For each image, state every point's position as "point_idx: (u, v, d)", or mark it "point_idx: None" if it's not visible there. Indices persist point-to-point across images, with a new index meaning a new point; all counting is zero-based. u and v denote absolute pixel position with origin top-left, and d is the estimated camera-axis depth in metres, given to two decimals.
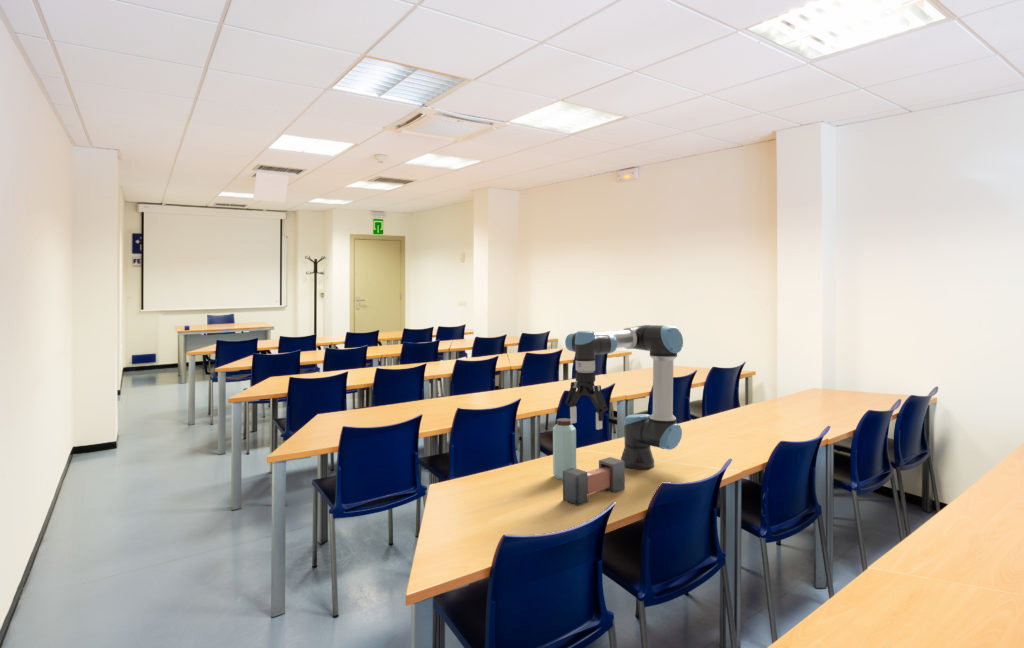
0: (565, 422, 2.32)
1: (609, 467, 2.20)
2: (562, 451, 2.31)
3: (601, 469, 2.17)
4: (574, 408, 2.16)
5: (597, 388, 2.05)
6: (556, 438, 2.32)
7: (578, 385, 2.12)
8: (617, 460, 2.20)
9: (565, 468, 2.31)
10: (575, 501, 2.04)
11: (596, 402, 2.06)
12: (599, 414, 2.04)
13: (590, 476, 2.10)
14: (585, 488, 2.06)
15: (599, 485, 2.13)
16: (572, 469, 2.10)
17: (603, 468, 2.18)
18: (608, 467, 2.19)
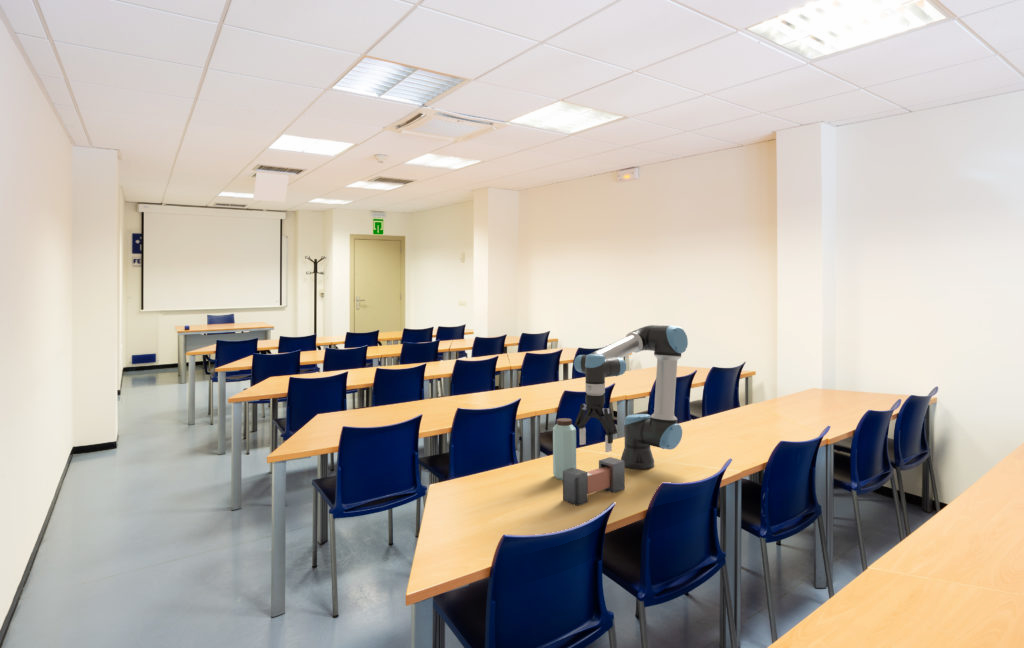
0: (565, 422, 2.32)
1: (609, 467, 2.20)
2: (562, 451, 2.31)
3: (601, 469, 2.17)
4: (583, 430, 2.19)
5: (607, 411, 2.08)
6: (556, 438, 2.32)
7: (588, 407, 2.15)
8: (617, 460, 2.20)
9: (565, 468, 2.31)
10: (575, 501, 2.04)
11: (606, 425, 2.08)
12: (609, 437, 2.07)
13: (590, 476, 2.10)
14: (585, 488, 2.06)
15: (599, 485, 2.13)
16: (572, 469, 2.10)
17: (603, 468, 2.18)
18: (608, 467, 2.19)
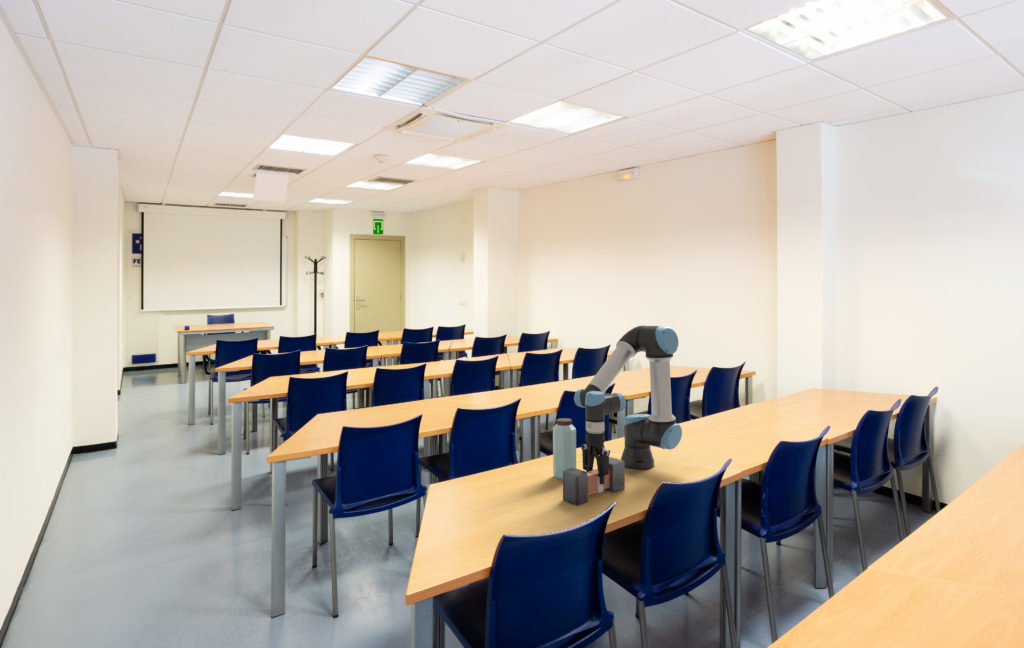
0: (565, 422, 2.32)
1: (609, 467, 2.20)
2: (562, 451, 2.31)
3: None
4: None
5: (606, 454, 2.09)
6: (556, 438, 2.32)
7: (588, 444, 2.15)
8: (617, 460, 2.20)
9: (565, 468, 2.31)
10: (575, 501, 2.04)
11: (600, 466, 2.11)
12: (600, 478, 2.11)
13: (590, 476, 2.10)
14: (585, 488, 2.06)
15: None
16: (572, 469, 2.10)
17: None
18: None
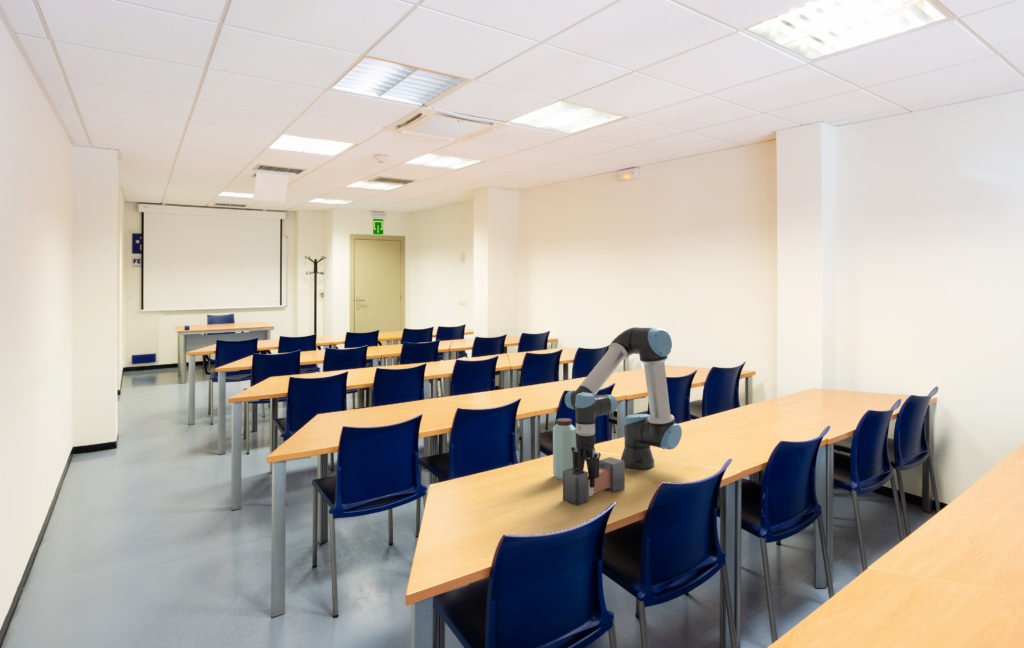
0: (565, 422, 2.32)
1: (600, 470, 2.16)
2: (562, 451, 2.31)
3: None
4: None
5: (596, 457, 2.05)
6: (556, 438, 2.32)
7: (578, 446, 2.12)
8: (617, 460, 2.20)
9: (565, 468, 2.31)
10: (575, 501, 2.04)
11: (590, 468, 2.08)
12: (590, 481, 2.08)
13: None
14: (585, 488, 2.06)
15: None
16: (572, 469, 2.10)
17: None
18: (599, 470, 2.16)
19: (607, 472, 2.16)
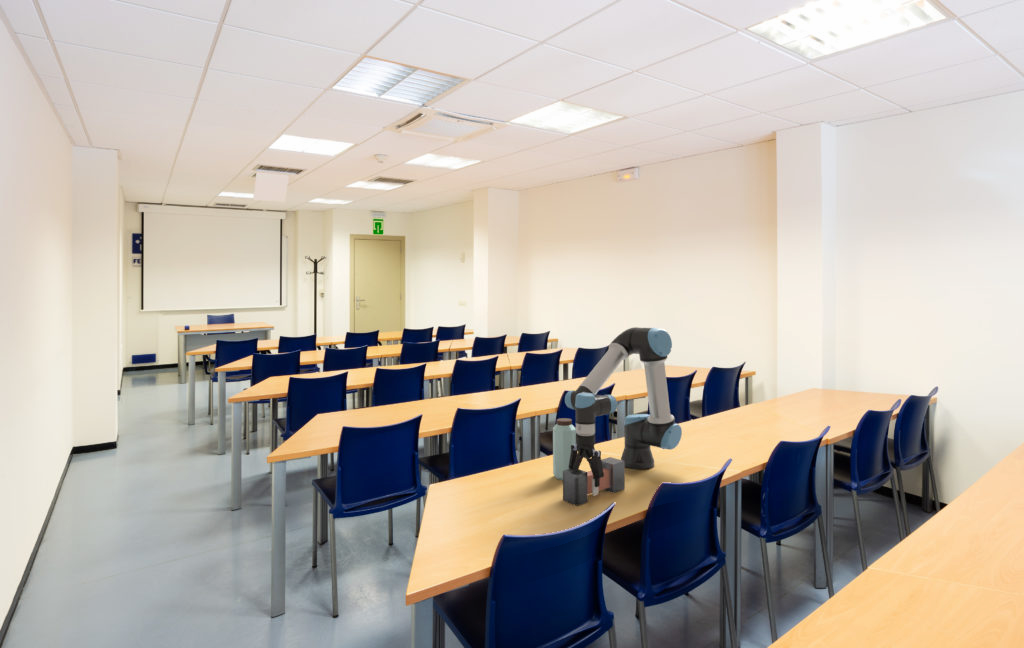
0: (565, 422, 2.32)
1: None
2: (562, 451, 2.31)
3: None
4: None
5: (597, 454, 2.05)
6: (556, 438, 2.32)
7: (578, 447, 2.12)
8: (617, 460, 2.20)
9: (565, 468, 2.31)
10: (575, 501, 2.04)
11: (594, 468, 2.07)
12: (595, 480, 2.06)
13: None
14: (585, 488, 2.06)
15: (589, 489, 2.10)
16: (572, 469, 2.10)
17: None
18: None
19: (607, 472, 2.16)
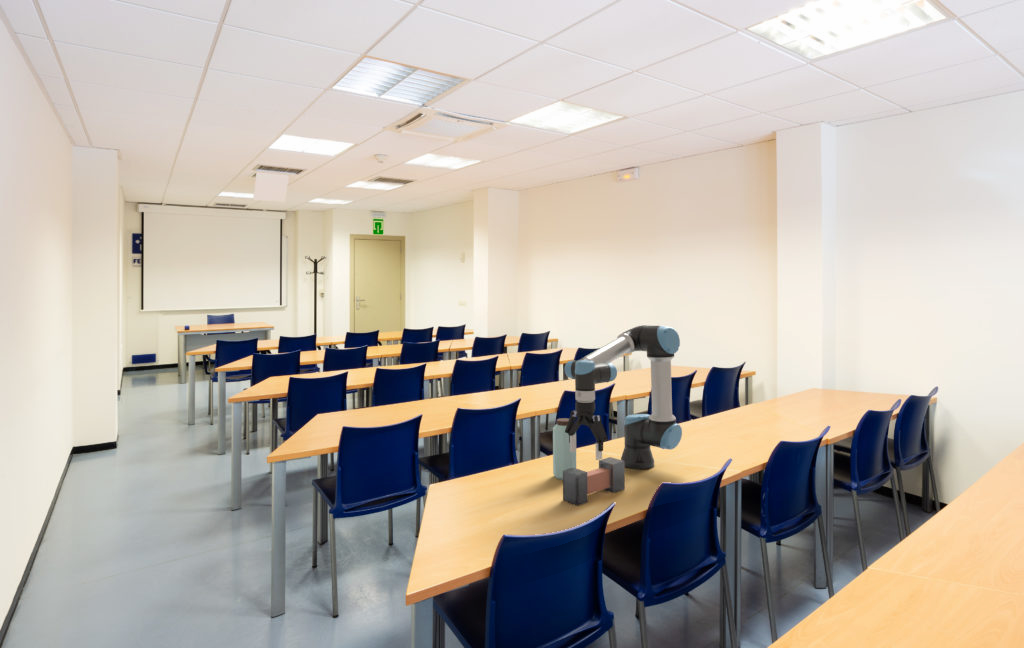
0: (565, 422, 2.32)
1: (600, 470, 2.16)
2: (562, 451, 2.31)
3: (592, 472, 2.14)
4: (574, 437, 2.16)
5: (597, 418, 2.04)
6: (556, 438, 2.32)
7: (578, 414, 2.11)
8: (617, 460, 2.20)
9: (565, 468, 2.31)
10: (575, 501, 2.04)
11: (596, 432, 2.05)
12: (599, 444, 2.04)
13: None
14: (585, 488, 2.06)
15: (589, 489, 2.10)
16: (572, 469, 2.10)
17: (594, 471, 2.15)
18: (599, 470, 2.16)
19: (607, 472, 2.16)
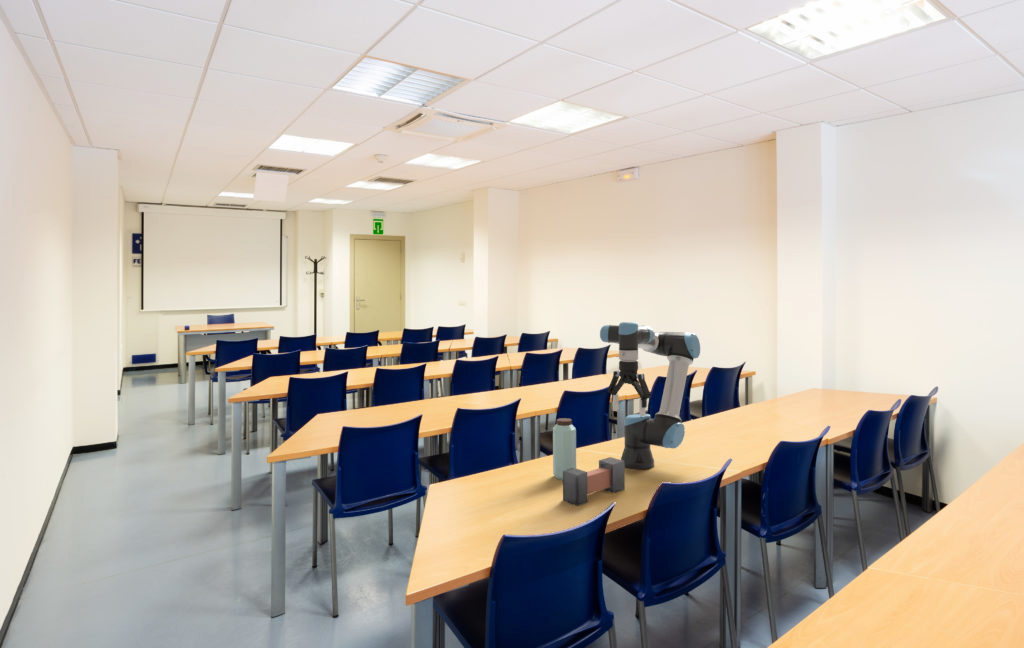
0: (565, 422, 2.32)
1: (600, 470, 2.16)
2: (562, 451, 2.31)
3: (592, 472, 2.14)
4: (616, 396, 2.25)
5: (641, 376, 2.14)
6: (556, 438, 2.32)
7: (621, 374, 2.21)
8: (617, 460, 2.20)
9: (565, 468, 2.31)
10: (575, 501, 2.04)
11: (639, 390, 2.14)
12: (643, 401, 2.13)
13: None
14: (585, 488, 2.06)
15: (589, 489, 2.10)
16: (572, 469, 2.10)
17: (594, 471, 2.15)
18: (599, 470, 2.16)
19: (607, 472, 2.16)
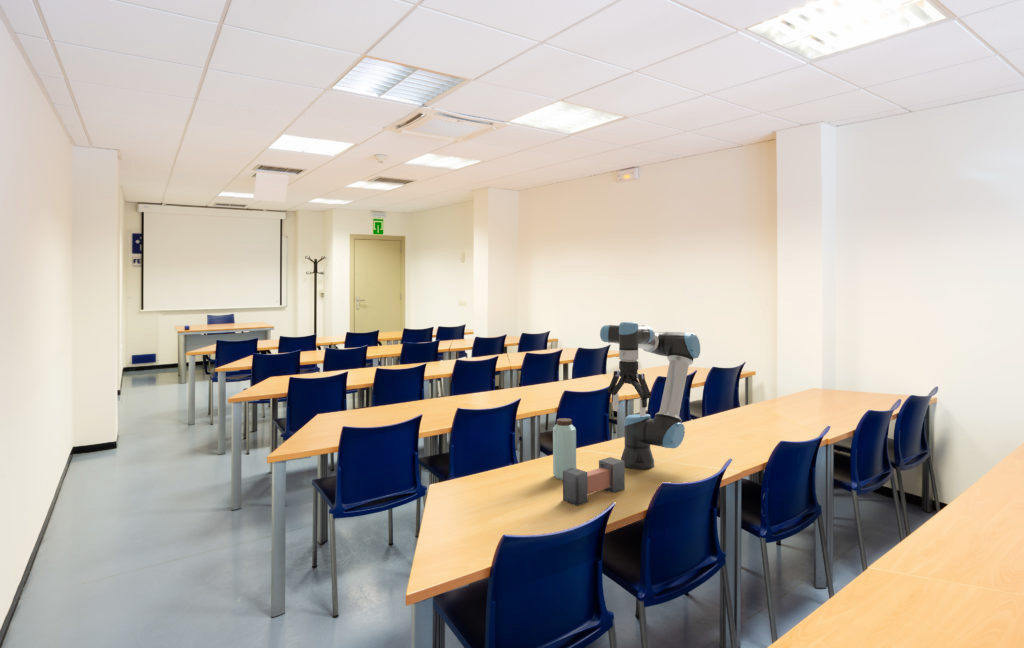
0: (565, 422, 2.32)
1: (600, 470, 2.16)
2: (562, 451, 2.31)
3: (592, 472, 2.14)
4: (616, 396, 2.25)
5: (641, 376, 2.14)
6: (556, 438, 2.32)
7: (621, 374, 2.21)
8: (617, 460, 2.20)
9: (565, 468, 2.31)
10: (575, 501, 2.04)
11: (640, 390, 2.14)
12: (643, 401, 2.13)
13: None
14: (585, 488, 2.06)
15: (589, 489, 2.10)
16: (572, 469, 2.10)
17: (594, 471, 2.15)
18: (599, 470, 2.16)
19: (607, 472, 2.16)
